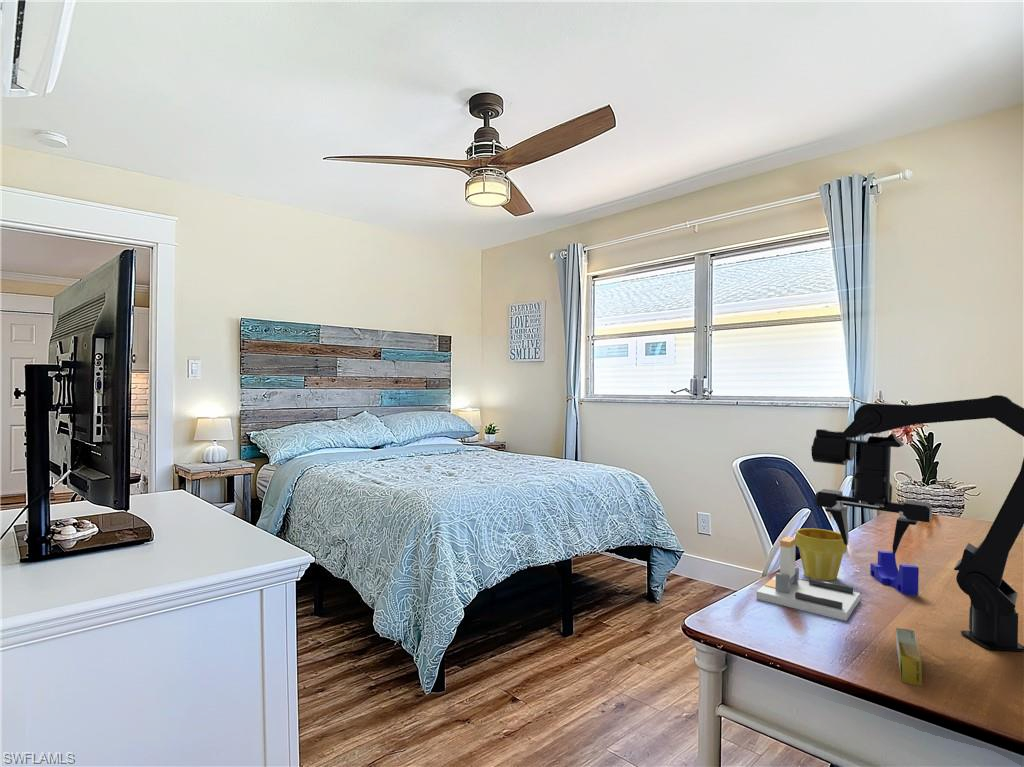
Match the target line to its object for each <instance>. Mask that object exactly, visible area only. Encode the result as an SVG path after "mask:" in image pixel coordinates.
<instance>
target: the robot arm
mask: <svg viewBox="0 0 1024 767" xmlns="http://www.w3.org/2000/svg"><path fill="white" fill-rule="evenodd" d="M853 416H854V417H853V418H854V419H853V421H852V422H851V423H850V424H849V425H848V427H847V428H846V427H845V430H844V431H839V430H838V431H837V430H829V429H822V428H818V429H816V430H815V435H814V438H813V441H812V445H811V449H810V450H811V459H812V461H813V462H814V463H821V464H831V465H838V466H839V465H840V466H846V465H847V464H848V462H849V461H850V462H852V461H853V460H854V458H855V467H854V469H855V470H854V475H852V478H851V484H850V486H851V487H850V490H851V491H852V492H854V493H853V494H854V496H848V495H844V494H843V491H841V490H836V489H835V490H834V489H826V488H822V489H821V490H819V491H817V492H816V493H815V495H814V506H817V507H823V508H825V509H824V510H825V512H826V513H827V512H828V513H830V514H831V516H832V519H833V520H834V522H835V523H836V526H837V528H838V532H839V533H841V536H842V539H843V541H844V544H845V545H847V546H848V545H849V526H848V507H853V508H861V509H866V510H876V511H882V512H889V513H896V514H898V515H899V517H898V518H897V519H896V523H895V529H894V536H893V542H892V552H893V554H895V555H896V554H897V552H898V549H899V548H900V545H901V541H902V539H903V538H904V535H905V533H906V531H907V529H908V528H909V527H910V526H916V525H918V523H919V522H921V523H922V522H923V523H930V522H931V520H932V518H933V506H932V505H931V504H930V502H927V501H920V500H919V501H918V500H911V499H906V500H905V502H904V503H901V502H892V500H893V485H892V483H891V482H890V481H891V457H892V456H891V455H892V454H891V453H892V448H901V447H903V446H904V445H905V444H904V442H903V441H901V440H900V439H899V438H898V437H897V436H896V434H895V433H890V434H889V435H888V436H875V435H873V434H879V433H885V432H888V431H892V430H897V429H900V428H905V427H910V426H914V425H922V424H934V423H935V424H938V423H945V422H946V423H947V422H949V423H950V422H957V421H958V422H959V421H969V420H970V421H972V420H982V419H983V420H984V419H985V420H986V419H995V420H997V421H998V422H1000V423H1001V424H1003V425H1004V426H1006V427H1008V428H1009V429H1011V430H1012V431H1013V432H1015V433H1017V434H1019V435H1020V436H1022V437H1023V438H1024V407H1022V406H1020V405H1019V404H1018V403H1016V402H1013V401H1012V399H1010V398H1009V397H1007V396H1006V395H1005V396H1004V395H1001V394H1000V395H990V396H988V397H980V398H971V399H960V400H959V399H958V400H952V401H951V400H950V401H940V402H939V401H938V402H932V403H920V404H902V403H901V404H899V403H898V404H897V403H880V402H879V403H865V404H862V405H861V406H859V407H858V408H857V409H856V411H855V413H854V415H853ZM868 434H870V435H869V437H868V438H867V440H860V439H859V440H858V439H853V438H858V437H863V436H866V435H868ZM1023 527H1024V457H1023V458H1022V463H1021V468H1020V471H1019V473H1018V475H1017V476H1016V478H1015V481H1014V483H1013V484H1012V486H1011V488H1010V490H1009V492H1008V494H1007V495H1006V497H1005V499H1004V502H1003V503H1002V505H1001V507H1000V509H999V510H998V513H997V515H996V517H995V518H994V520H993V523H992V524H991V526H990V528H989V530H988V532H987V534H986V536H985V537H984V539H983V540H982V541H981V542H980V543H979V544H978V546H974V545H973V544H972V543H969V542H968V543H967V545H966V546H965V547H964V550H963V552H962V557H961V558H960V559H959V560H958V561H957V563H956V564H955V566H954V568H953V570H954V571H957V574H956V580H955V581H956V583H957V585H958V587H959V589H960V590H961V591H962V592H963V593H964V594H966V596H968V597H969V599H970V606H969V619H968V620H969V622H968V623H969V624H968V629H969V630H961V631H960V634H961V635H963V636H965V637H966V638H968V639H969V640H971V641H973V642H974V643H977V644H978V645H980V646H981V647H983V648H985V649H987V650H990V651H1013V652H1014V651H1015V652H1016V651H1017V652H1018V651H1019V652H1024V645H1023V644H1021V643H1019V613H1018V612H1017V610H1016V609H1015V608H1016V607H1017V606H1016V605H1017V600H1018V596H1019V595H1018V592H1017V591H1016V590H1015V589H1014V588H1013V587H1012V586H1011V585H1010V584H1009V583H1007V581H1005V580H1004V579H1003V577H1004V575H1005V574H1004V573H1005V569H1006V567H1007V562H1008V558H1009V554H1010V552H1011V550H1012V548H1013V546H1014V543H1015V542H1016V540H1017V538H1018V537H1019V535H1020V533H1021V531H1022V529H1023Z"/></svg>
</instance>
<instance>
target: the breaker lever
mask: <svg viewBox="0 0 1024 767" xmlns="http://www.w3.org/2000/svg"><path fill="white" fill-rule="evenodd" d="M779 542H780V543H779V544H780V545H779V547H780V548H779V549H780V551H779V552H780V553H779V554H780V555H779V557H780V558H779V573H782V574H786V575H790V584H791V583H792V582H793V581H794V580H795V576H794V575H795V567H796V547H797V546H796V537H792V536H785V537H783V538H782V539H780V541H779Z"/></svg>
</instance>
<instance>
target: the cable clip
mask: <svg viewBox="0 0 1024 767" xmlns="http://www.w3.org/2000/svg"><path fill="white" fill-rule="evenodd" d="M869 569H870V571H869V573H870V574H869V575H870V577H872V578H873V579H875V580H876V581H877V582H879V583H880V584H881V585H888V586H890V587H892V588H893V589H895V590H896V591H897V592H899V593H900V594H901V595H908V596H909V595H911V596H919V573H920V572H919V571H920V570H919V569H920V568H919V567H918V566H917V565H915V564H899V567H898V566H897V560H896V554H893V551H887V550H877V563H875V562H870V566H869Z"/></svg>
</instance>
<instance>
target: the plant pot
mask: <svg viewBox="0 0 1024 767" xmlns="http://www.w3.org/2000/svg"><path fill="white" fill-rule="evenodd" d="M795 538H796V547H798V550H799V554H800V560H801V566H802V569H803V574H804V575H805V576H806V577H808V578H809V579H815V580H820V581H824V582H832V581H835V580H837V578H838V575H839V572H840V567H841V564H842V560H843V558H844V557H843V556H844V555H845V554H846V553H847V550H848V548H847V547H848V545H845V544H844V541H843V539H842V536H841V533H840V532H839V531H835V530H834V531H833V530H830V529H829V530H828V529H823V528H822V529H821V528H814V527H813V528H810V527H806V528H798V529H796V531H795Z"/></svg>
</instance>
